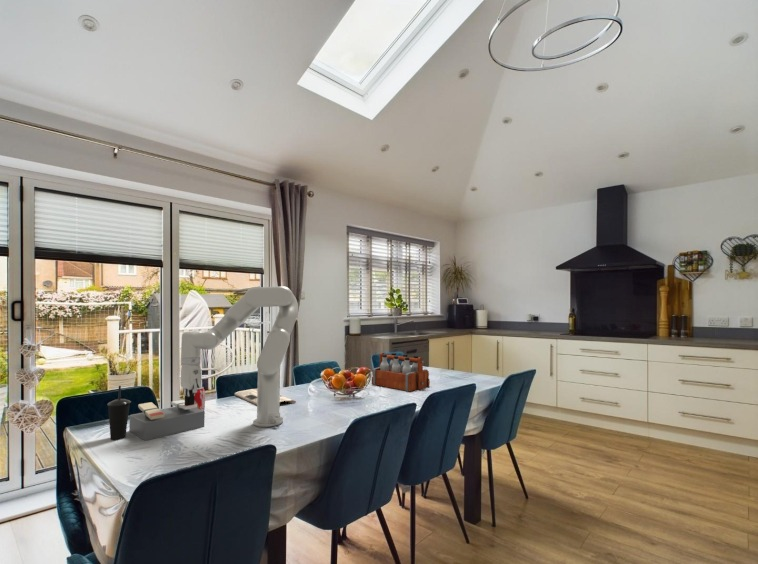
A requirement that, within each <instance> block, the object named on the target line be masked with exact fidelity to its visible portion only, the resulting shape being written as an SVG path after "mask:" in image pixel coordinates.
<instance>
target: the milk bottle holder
mask: <svg viewBox="0 0 758 564" xmlns="http://www.w3.org/2000/svg"><path fill="white" fill-rule="evenodd" d="M378 358H379V366H378V367H375V368H373V369H372V371H371V372H372V373H371V374H372V376H371V385H373V386H381V387H386V388H390V389H396V390H400V391H405V392H408V391H409V392H412V391H416V390H418V391H419V390H423V389H424V388H426V387H430V380H431V379H430V378H429V377H430V371H429V370H428V369H426V368H424V366H423V365H424V361H425V360H423V359H424V358H423V357H419V356H418V355H413V357H408V354H402V356H401V355H397V353H395V352H394V353H391V354H385V352H380V354H379V356H378ZM388 360H390V361H389V363H388ZM399 362H401V364H400V363H399ZM410 363H412V365H410ZM423 368H424V369H423Z"/></svg>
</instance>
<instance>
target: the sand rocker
mask: <svg viewBox="0 0 758 564" xmlns="http://www.w3.org/2000/svg"><path fill="white" fill-rule="evenodd" d="M137 407H138V409H139V410H140V411H142V412H141V413H144V414H145V415H146V416H147V417H148V418H149V419H150V420H153V419H158V418H162V417H164V416H165V414H164V413H163V412H162V411H161V410H160V409H161V408H159V407H158V406H157V405H155V404H154V403H153V402H152V401H151V402H144V403H139V404H138V405H137Z"/></svg>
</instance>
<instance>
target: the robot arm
mask: <svg viewBox="0 0 758 564" xmlns="http://www.w3.org/2000/svg"><path fill="white" fill-rule="evenodd" d="M269 307H270V308H271V307H278V313H277V315H276V318H275V321H274V323H273V325H272V327H271V330H270V331H269V332H268V335H267V336H266V339H265V342H264V343H263V347H262V349H261V352H260V354H259V355H258V358H257V361H256V369H257V388H256V389H257V405H256V418H255V419H253V420H252V424H253V425H254V426H255V427H260V428H266V427H267V428H268V427H275V426H279V425H282V423H284V417H281V412H280V411H281V409H280V404H281V402H280V395H281V393H280V391H281V365H282V362H283V360H284V358H285V355H286V353H287V350H288V348H289V346H290V342H291V334H292V332H293V329H294V326H295V324H296V321H297V318H298V314H299V303H298V300H297V298H296V296H295V295H294V293H293V291H292V290H291V289H290V288H289V287H287V286H283V285H282V286H281V285H279V286H253V287H250V288H248V289H247V291H246V292H245V294H243V295H242V296H241V297H240V298H239V299H238V300H237V301H236V302H235V303H233V305H232V306H231V307H230V308H229V309H227V311H226V312H225V313H224V315H223V316H222V318H221V319H220V320H219V321H218V322H217V323H216V324H215V325H213V327H212V328H210V329H209V330H208V331H205V332H200V331H186V332H183V333H182V334H181V345H180V347H181V348H180V349H181V350H180V366H181V368H180V369H181V370H180V386H181V388H182V390H184V400H185V405H186V406H188V405H194V396H195V393H196V392H197V388H201V387H202V369H201V361H202V358H201V357H202V355H201V354H202V353H201V352H202V350H213V349H215V348H217V347H218V346H219V345H221V344H222V343H223V342H224V341H225V340H226V339H227V338H228V336H230V335H231V334H232V333H233V332H234V331H235V330H236V329H238V328H239V327H240V326H242V325H243V324H244V323H245V321H247V320H248V319H249V318H250V317H251V316H252V315H253V314H254V313H255V312H257V310H258V309H259V308H269Z"/></svg>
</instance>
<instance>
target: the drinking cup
mask: <svg viewBox="0 0 758 564" xmlns="http://www.w3.org/2000/svg"><path fill="white" fill-rule="evenodd" d="M121 387H122V386H121V385H119V386H118V394H117V395H118V398H117V399H116V398H115V399H114V400H112V401H109V402H108V403H107V405H106V406H107V408H108V421H109V423H108V424H109V436H110V440H111V441H118V440H119V441H120V440H122V439H125V438H126V437H127V436H126V435H127V428H128V427H127V426H128V419H129V412H130V404H131V403H132V401H131V400H129V399H126V398H121V396H122V395H121V391H122V389H121Z"/></svg>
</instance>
